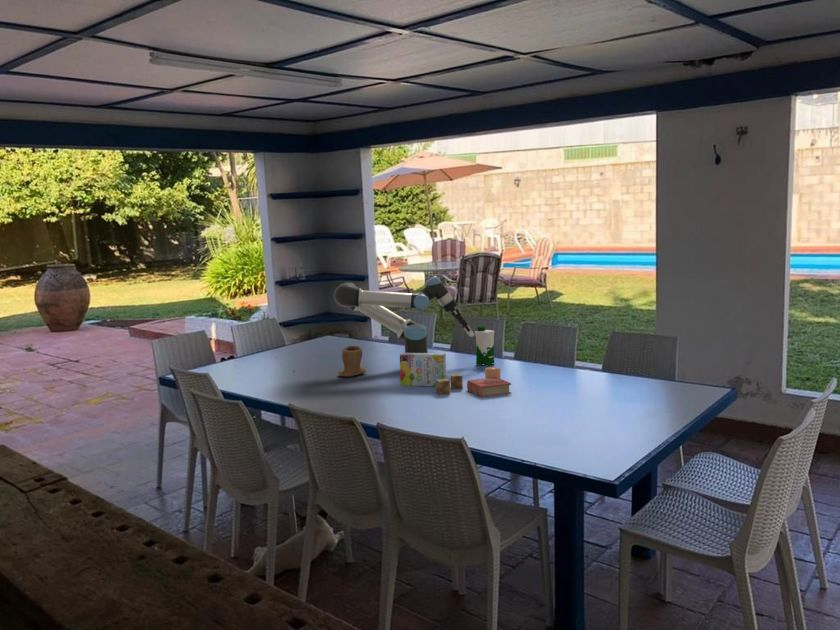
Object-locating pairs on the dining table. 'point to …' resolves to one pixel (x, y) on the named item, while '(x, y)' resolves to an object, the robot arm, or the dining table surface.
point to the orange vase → (352, 361)
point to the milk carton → (484, 346)
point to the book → (488, 387)
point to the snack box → (422, 368)
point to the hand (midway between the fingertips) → (471, 334)
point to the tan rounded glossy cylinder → (492, 372)
